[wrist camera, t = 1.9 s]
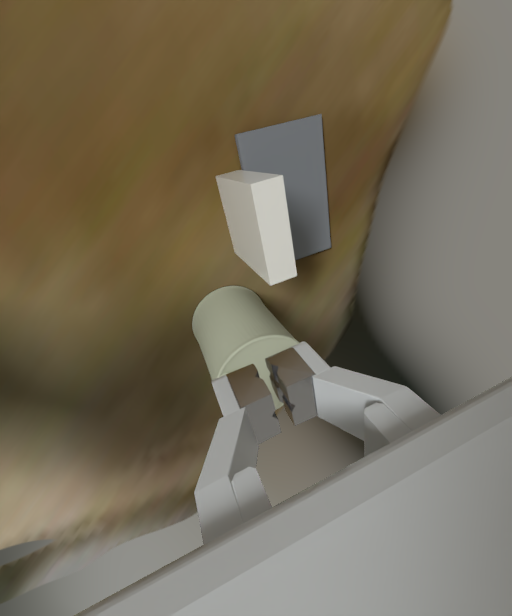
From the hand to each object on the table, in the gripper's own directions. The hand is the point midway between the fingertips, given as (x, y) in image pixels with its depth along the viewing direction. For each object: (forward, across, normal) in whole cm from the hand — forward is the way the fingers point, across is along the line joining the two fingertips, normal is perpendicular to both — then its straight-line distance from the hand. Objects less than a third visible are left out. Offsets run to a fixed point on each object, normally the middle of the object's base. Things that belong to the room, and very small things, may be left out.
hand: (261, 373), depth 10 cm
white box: (+23, -7, 0) cm, 24 cm away
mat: (+23, -13, 0) cm, 26 cm away
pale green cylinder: (+23, -2, +12) cm, 26 cm away
